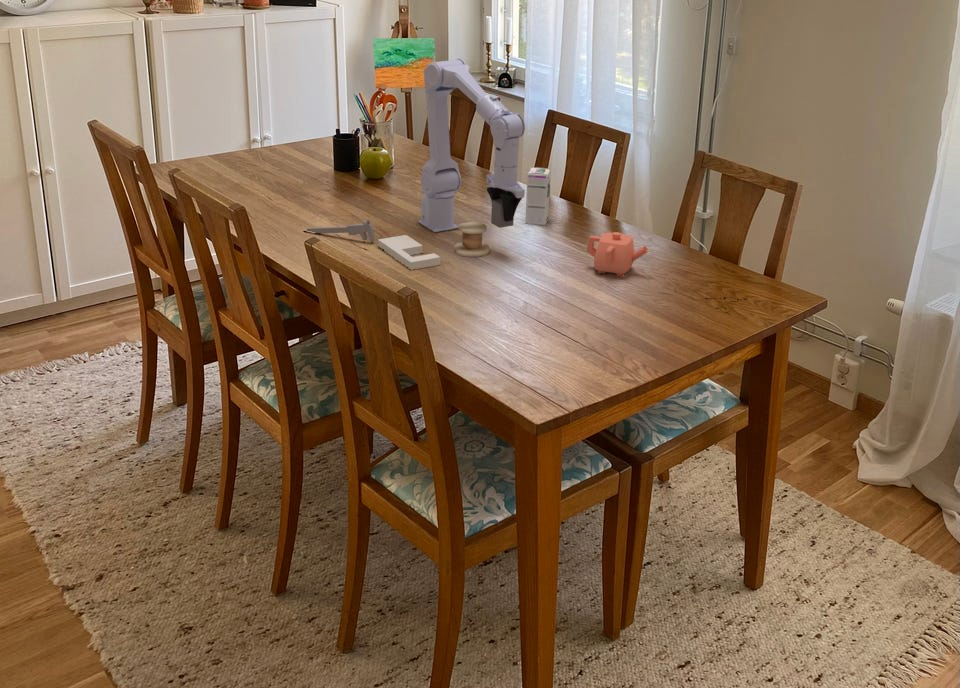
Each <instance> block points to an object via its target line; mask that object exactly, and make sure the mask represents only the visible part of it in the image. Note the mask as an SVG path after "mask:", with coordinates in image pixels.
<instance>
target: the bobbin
mask: <svg viewBox="0 0 960 688" xmlns="http://www.w3.org/2000/svg"><path fill="white" fill-rule="evenodd" d="M458 225H459V228H458V231H459V232H461V235H462V237H461V238H462V239H461V240H462V241H461V242H457V243H455V244H454V246H453V247H454V248H453V251H454V253H455V254H457V256H458V255H459V256H462V257H465V258H466V257H467V258H479V257H484V256H487V255H489V254H490V248H491V247H490V245H489V244H488V243H485V242H483V234H484V233H485V232H487V225H486V224H484V223H482V222H478V221H477V222H476V221H466V222H462V223H459V224H458Z"/></svg>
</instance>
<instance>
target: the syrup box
mask: <svg viewBox="0 0 960 688" xmlns="http://www.w3.org/2000/svg"><path fill="white" fill-rule="evenodd" d="M551 171H552V170H551V169H550V168H546V167H530V170H529V171H528V172H527V174H526V175H527V177H526V178H527V179H526V195H525V196H526V197H525V198H526V199H525V201H526V202H525V205H526V206H525V224H528V225H533V226H534V225H535V226H536V225H537V226H546V225H547V222H548V221H549V218H550V201H551V198H550V196H551V195H550V194H551V178H552V177H551V174H552V172H551Z"/></svg>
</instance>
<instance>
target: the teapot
mask: <svg viewBox="0 0 960 688" xmlns="http://www.w3.org/2000/svg"><path fill="white" fill-rule="evenodd" d="M595 242H597V245H596V247H594V246H595ZM586 252H587V253H588V254H590V255H591V256H592V257H593V258H594V259H593V266H594V269H595V270H597V273H598V272H599V273H604V274H606V273H612V274H615V275H618V276H623V275H624V276H625V274H626V273H628V271H630V270H631V268H632V266H633V265H634V261H636V260H639V258H641V257H643V256H644V255H646V254H647V253H649V249H648V248H647V246H646V245H643V246H642V247H640V248H639V249H638V250H636V251H635V245H634V238H633V236H632V235H630V234H629V235H628V234H624V233H622V232H618V231H614V232H610V231H607V232H605V233H604V234H603V235H602V236H597V235H590V236H589V238H588V243H587V247H586ZM599 273H598V274H599ZM618 276H617V277H618Z"/></svg>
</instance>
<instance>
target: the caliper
mask: <svg viewBox="0 0 960 688" xmlns="http://www.w3.org/2000/svg"><path fill="white" fill-rule="evenodd" d="M306 230H307V231H312V232H315V233H321V234H348V236H356V235H359V234H360V236H361V239H362V241H363V240H367V239H368V238H369V242H370V241H371V242H373V241H374V242H375V230H374V226H373V224H372V223H370V219H368V220H367V221H366V220H365V219H364V220H363V221H362V223H357V224H356V223H355V224H348V225H346V226H345V225H344V226H324V227H323V226H320V227H318V226H317V227H316V226H315V227H314V226H313V227H307V228H306ZM367 234H368V235H367ZM374 242H373V243H374Z"/></svg>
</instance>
